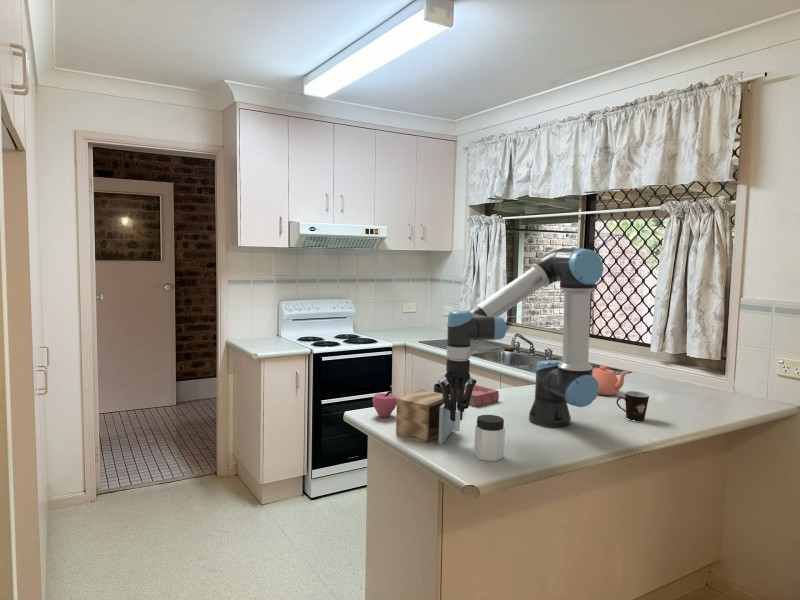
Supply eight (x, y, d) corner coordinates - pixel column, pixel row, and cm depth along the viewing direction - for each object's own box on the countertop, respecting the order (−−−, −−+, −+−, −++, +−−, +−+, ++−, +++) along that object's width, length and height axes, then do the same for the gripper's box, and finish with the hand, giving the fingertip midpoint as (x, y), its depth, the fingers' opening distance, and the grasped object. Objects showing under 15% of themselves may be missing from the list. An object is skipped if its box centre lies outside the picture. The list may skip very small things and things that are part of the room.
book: (476, 408, 224) (477, 396, 224) (449, 400, 236) (449, 388, 235) (499, 403, 234) (499, 391, 233) (471, 395, 245) (472, 383, 245)
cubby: (449, 430, 196) (451, 395, 195) (426, 442, 183) (427, 405, 181) (420, 423, 202) (422, 389, 201) (395, 434, 189) (397, 398, 188)
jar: (484, 449, 178) (486, 412, 177) (507, 456, 173) (509, 418, 172) (469, 456, 172) (471, 418, 170) (492, 463, 166) (494, 424, 165)
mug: (445, 416, 212) (446, 391, 211) (429, 407, 223) (430, 384, 222) (463, 413, 216) (464, 389, 215) (446, 405, 227) (447, 382, 226)
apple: (385, 411, 215) (386, 386, 214) (401, 417, 209) (402, 390, 208) (367, 416, 209) (367, 390, 208) (382, 422, 202) (383, 394, 201)
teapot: (634, 395, 252) (636, 368, 251) (618, 401, 242) (620, 373, 241) (588, 385, 268) (590, 360, 267) (572, 390, 258) (574, 364, 257)
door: (453, 430, 195) (455, 395, 194) (441, 444, 181) (442, 406, 179) (450, 429, 195) (452, 395, 194) (438, 443, 181) (439, 406, 180)
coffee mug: (646, 417, 218) (648, 392, 217) (648, 424, 210) (650, 398, 209) (614, 413, 222) (616, 389, 221) (615, 420, 214) (617, 394, 213)
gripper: (470, 355, 186) (468, 425, 188) (435, 357, 182) (432, 428, 183) (481, 360, 179) (479, 432, 181) (444, 361, 174) (442, 435, 176)
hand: (455, 430), depth 182 cm, fingers closed
